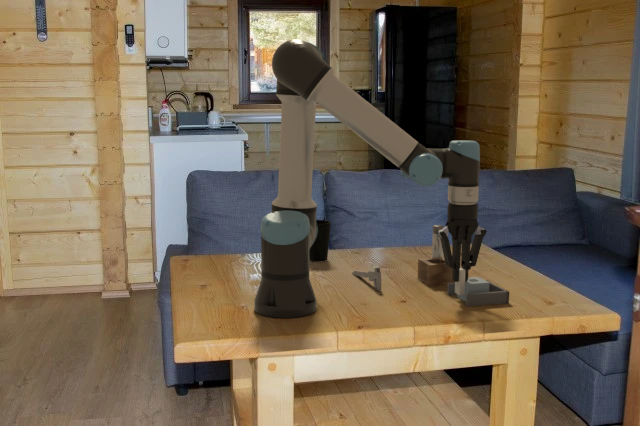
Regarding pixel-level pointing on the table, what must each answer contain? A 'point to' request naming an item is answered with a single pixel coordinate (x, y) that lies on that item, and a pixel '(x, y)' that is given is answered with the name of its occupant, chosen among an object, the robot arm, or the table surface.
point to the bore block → (434, 272)
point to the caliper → (371, 277)
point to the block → (474, 287)
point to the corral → (483, 295)
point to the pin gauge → (437, 245)
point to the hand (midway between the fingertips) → (459, 293)
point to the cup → (320, 242)
